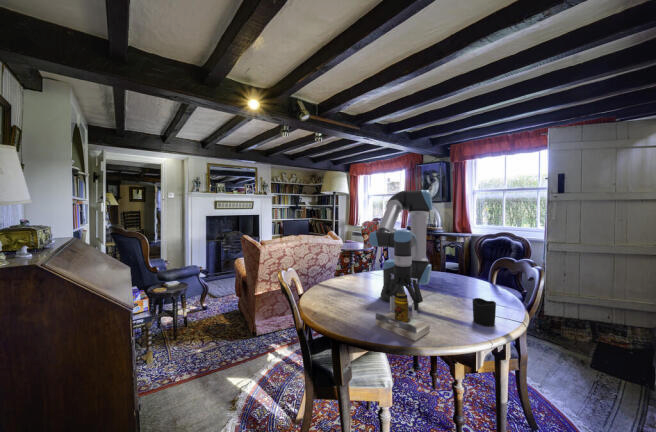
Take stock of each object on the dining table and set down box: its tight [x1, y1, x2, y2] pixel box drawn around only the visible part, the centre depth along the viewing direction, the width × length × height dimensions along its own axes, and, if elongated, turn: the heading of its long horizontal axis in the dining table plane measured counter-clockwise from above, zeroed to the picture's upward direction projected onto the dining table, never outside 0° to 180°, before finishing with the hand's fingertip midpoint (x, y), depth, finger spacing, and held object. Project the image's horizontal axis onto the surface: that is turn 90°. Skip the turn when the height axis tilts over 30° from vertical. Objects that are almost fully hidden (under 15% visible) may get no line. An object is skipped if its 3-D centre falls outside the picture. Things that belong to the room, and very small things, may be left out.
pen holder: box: [472, 297, 497, 327], centre depth 124 cm, size 9×9×10 cm
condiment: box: [394, 293, 412, 324], centre depth 120 cm, size 7×8×12 cm
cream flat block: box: [375, 311, 431, 342], centre depth 119 cm, size 20×12×6 cm, turn 42°
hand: (403, 313), depth 120 cm, fingers open, 10 cm apart
